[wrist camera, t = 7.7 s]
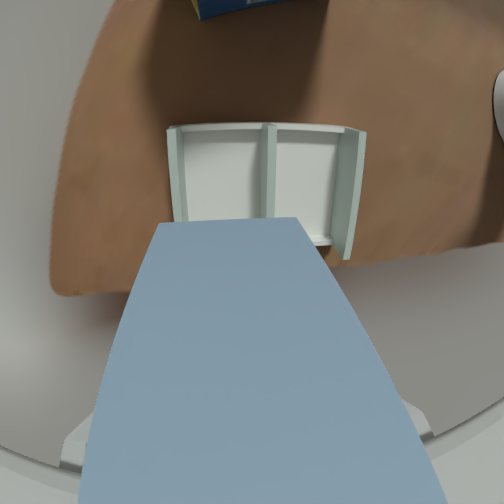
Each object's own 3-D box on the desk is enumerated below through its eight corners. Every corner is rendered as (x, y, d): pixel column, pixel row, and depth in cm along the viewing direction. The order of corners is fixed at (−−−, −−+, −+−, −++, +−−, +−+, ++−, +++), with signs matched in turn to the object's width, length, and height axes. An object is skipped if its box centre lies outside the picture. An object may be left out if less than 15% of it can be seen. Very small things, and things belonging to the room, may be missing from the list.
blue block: (296, 217, 13) (449, 507, 2) (284, 344, 17) (335, 543, 6) (159, 223, 12) (74, 548, 2) (182, 350, 16) (179, 557, 6)
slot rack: (345, 126, 30) (370, 132, 24) (334, 235, 36) (352, 259, 31) (172, 125, 28) (162, 130, 23) (182, 242, 35) (176, 268, 29)
